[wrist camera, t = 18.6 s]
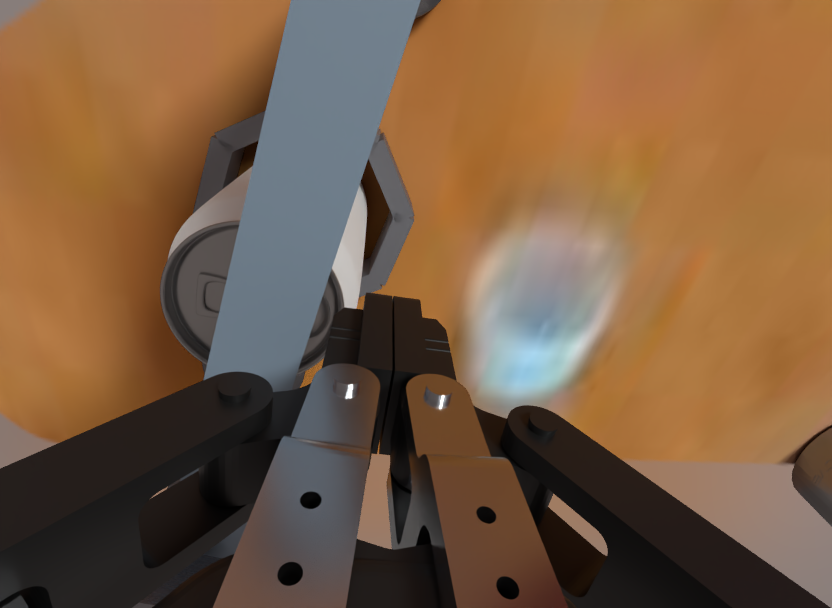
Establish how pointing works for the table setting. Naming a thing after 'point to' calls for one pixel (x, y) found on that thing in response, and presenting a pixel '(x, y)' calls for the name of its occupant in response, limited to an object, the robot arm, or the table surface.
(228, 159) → the collar
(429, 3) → the pivot post
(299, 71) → the swing arm
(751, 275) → the table surface
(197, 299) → the can
